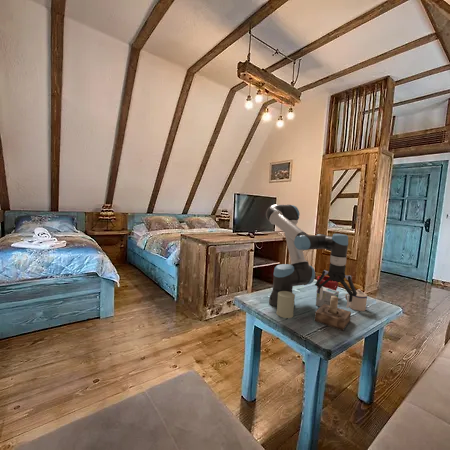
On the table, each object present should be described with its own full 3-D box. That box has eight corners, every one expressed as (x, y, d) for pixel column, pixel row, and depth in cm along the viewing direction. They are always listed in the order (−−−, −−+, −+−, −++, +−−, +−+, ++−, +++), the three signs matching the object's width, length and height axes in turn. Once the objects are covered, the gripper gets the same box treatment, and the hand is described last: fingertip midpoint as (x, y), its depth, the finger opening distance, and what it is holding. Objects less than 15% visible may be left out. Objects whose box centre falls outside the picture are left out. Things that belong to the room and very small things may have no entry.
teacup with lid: (368, 309, 147) (370, 290, 146) (362, 313, 141) (364, 293, 140) (347, 302, 156) (349, 284, 155) (341, 305, 150) (343, 287, 149)
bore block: (314, 320, 129) (315, 311, 128) (323, 312, 140) (323, 303, 139) (343, 330, 120) (344, 321, 120) (350, 320, 131) (350, 311, 130)
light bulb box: (337, 308, 146) (339, 291, 144) (332, 311, 141) (334, 293, 140) (320, 302, 153) (322, 285, 152) (315, 305, 149) (316, 288, 148)
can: (282, 309, 142) (284, 288, 140) (296, 315, 135) (298, 294, 134) (272, 313, 136) (274, 292, 134) (287, 319, 129) (288, 297, 128)
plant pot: (328, 300, 157) (329, 282, 156) (311, 293, 168) (313, 276, 167) (340, 297, 163) (342, 280, 162) (324, 290, 175) (325, 274, 173)
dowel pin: (327, 318, 130) (330, 297, 128) (329, 316, 132) (332, 295, 131) (334, 321, 127) (337, 299, 126) (336, 318, 130) (339, 297, 129)
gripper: (311, 260, 132) (307, 298, 134) (363, 270, 116) (358, 313, 118) (316, 258, 137) (312, 294, 140) (366, 267, 122) (361, 308, 124)
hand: (333, 303), depth 129 cm, fingers open, 13 cm apart
